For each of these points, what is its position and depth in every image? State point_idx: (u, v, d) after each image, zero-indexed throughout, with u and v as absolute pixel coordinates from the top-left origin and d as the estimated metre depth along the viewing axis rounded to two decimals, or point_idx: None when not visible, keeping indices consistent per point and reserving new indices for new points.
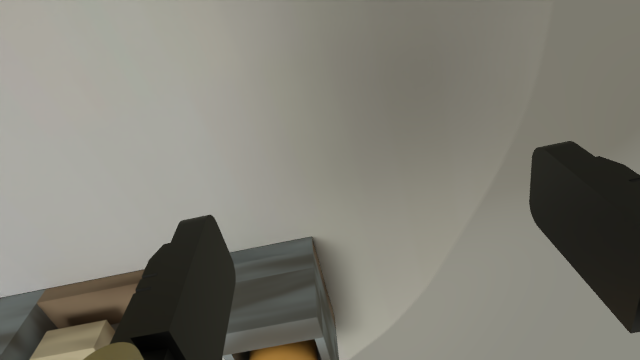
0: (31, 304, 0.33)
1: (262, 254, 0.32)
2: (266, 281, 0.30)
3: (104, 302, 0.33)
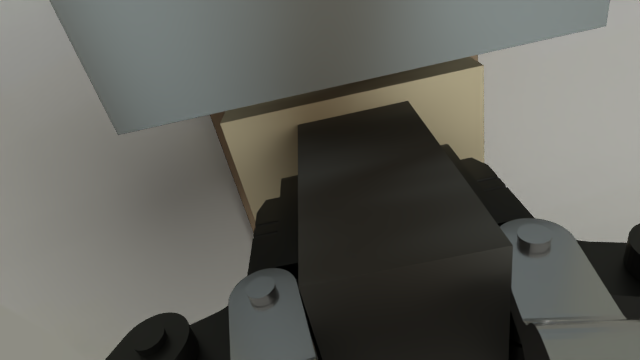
0: None
1: None
2: None
3: None
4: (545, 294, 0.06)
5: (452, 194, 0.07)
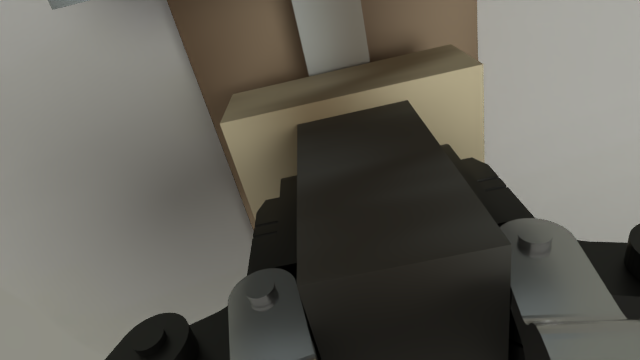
0: None
1: None
2: None
3: None
4: (546, 294, 0.06)
5: (452, 193, 0.07)
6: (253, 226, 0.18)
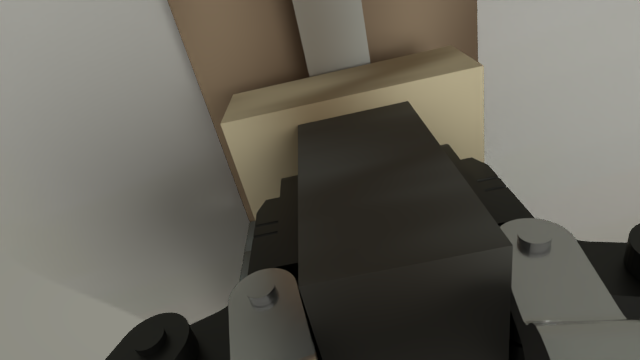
0: None
1: None
2: None
3: None
4: (545, 294, 0.06)
5: (453, 194, 0.07)
6: (201, 87, 0.15)
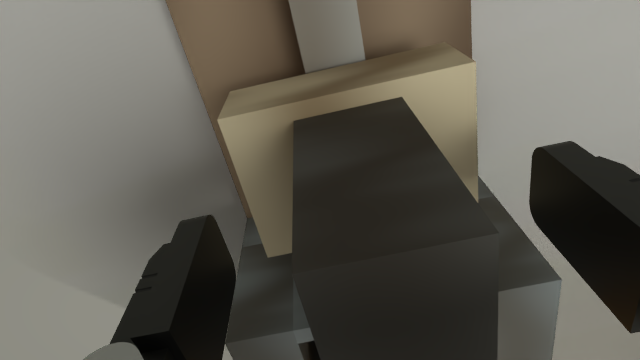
0: None
1: None
2: None
3: None
4: None
5: (443, 185, 0.07)
6: (199, 85, 0.15)
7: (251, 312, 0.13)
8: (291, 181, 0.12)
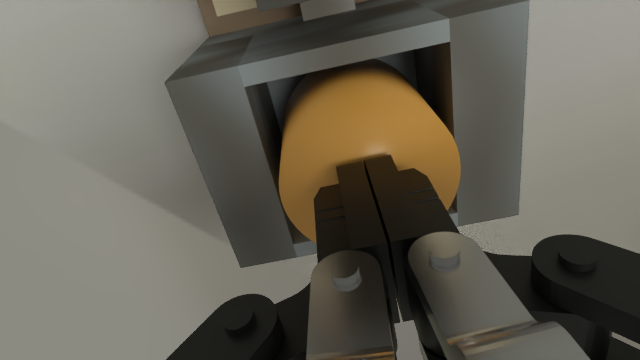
0: None
1: None
2: None
3: None
4: (463, 308, 0.06)
5: None
6: None
7: (197, 67, 0.12)
8: None
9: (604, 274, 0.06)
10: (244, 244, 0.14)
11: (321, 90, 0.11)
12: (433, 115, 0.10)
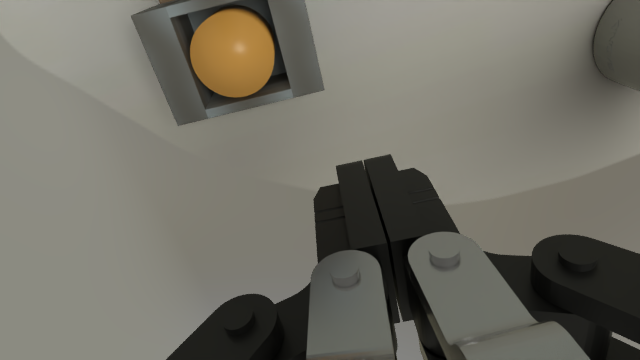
0: None
1: None
2: None
3: None
4: (462, 309, 0.06)
5: None
6: None
7: (147, 10, 0.24)
8: None
9: (604, 274, 0.06)
10: (178, 110, 0.26)
11: (210, 16, 0.25)
12: (254, 22, 0.24)
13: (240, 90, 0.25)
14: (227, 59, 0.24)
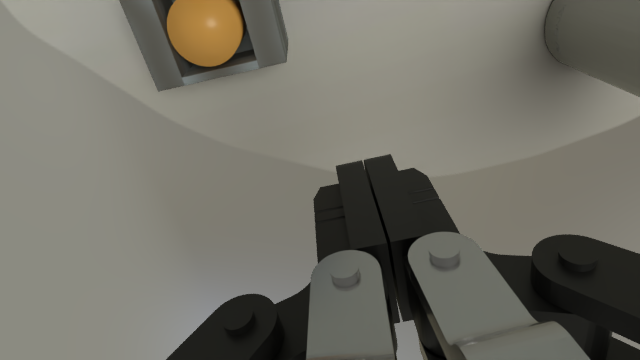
0: None
1: None
2: (276, 4, 0.32)
3: None
4: (463, 308, 0.06)
5: None
6: None
7: None
8: None
9: (604, 274, 0.06)
10: (158, 77, 0.30)
11: None
12: None
13: (211, 60, 0.29)
14: (199, 32, 0.28)
